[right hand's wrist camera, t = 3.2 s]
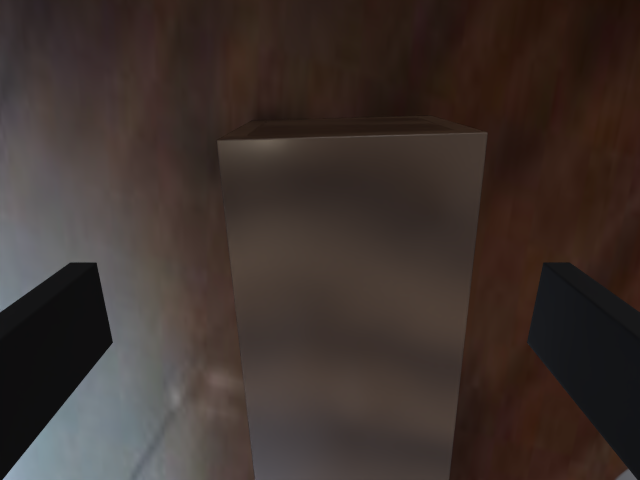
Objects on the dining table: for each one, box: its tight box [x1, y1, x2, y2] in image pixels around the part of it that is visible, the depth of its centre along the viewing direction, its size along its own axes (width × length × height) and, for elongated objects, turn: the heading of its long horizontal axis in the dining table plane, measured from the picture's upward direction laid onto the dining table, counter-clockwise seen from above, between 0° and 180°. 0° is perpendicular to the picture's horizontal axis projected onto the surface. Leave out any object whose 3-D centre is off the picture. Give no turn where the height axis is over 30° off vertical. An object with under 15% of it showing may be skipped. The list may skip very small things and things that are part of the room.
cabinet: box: [217, 116, 488, 480], centre depth 25 cm, size 21×11×9 cm, turn 2°
